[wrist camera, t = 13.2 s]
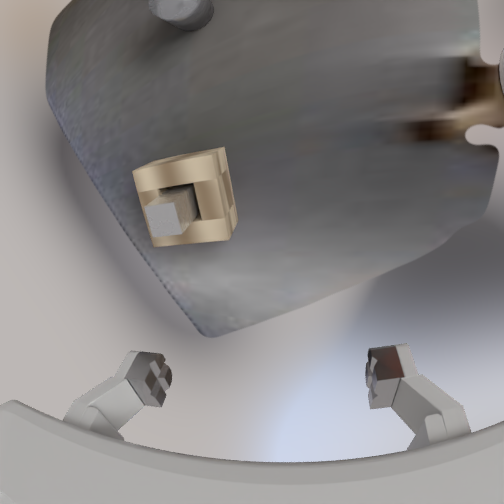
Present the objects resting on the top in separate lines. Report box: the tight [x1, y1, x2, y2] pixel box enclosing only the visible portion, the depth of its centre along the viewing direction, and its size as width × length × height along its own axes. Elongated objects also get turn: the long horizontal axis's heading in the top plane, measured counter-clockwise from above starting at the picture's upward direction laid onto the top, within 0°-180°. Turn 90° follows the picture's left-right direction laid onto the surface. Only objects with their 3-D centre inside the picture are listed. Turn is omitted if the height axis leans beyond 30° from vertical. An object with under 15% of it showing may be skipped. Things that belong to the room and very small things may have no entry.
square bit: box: [144, 182, 200, 237], centre depth 33 cm, size 3×3×10 cm
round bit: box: [149, 0, 214, 31], centre depth 24 cm, size 6×6×7 cm
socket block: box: [132, 147, 238, 247], centre depth 36 cm, size 10×10×6 cm
